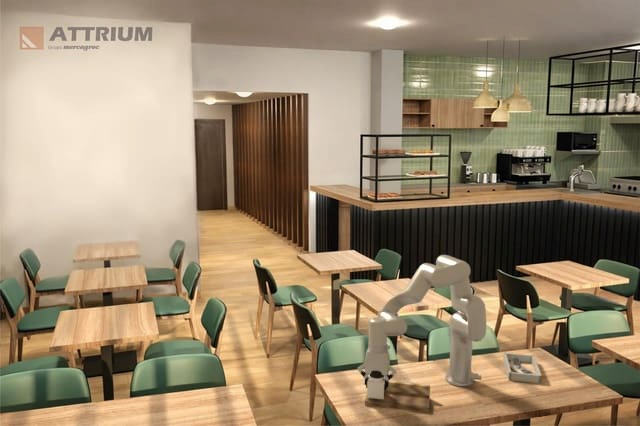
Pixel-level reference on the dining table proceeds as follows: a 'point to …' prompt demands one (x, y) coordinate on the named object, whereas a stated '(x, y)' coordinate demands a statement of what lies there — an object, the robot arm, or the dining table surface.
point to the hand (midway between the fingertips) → (376, 387)
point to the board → (404, 397)
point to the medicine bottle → (376, 385)
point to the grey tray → (522, 376)
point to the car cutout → (519, 367)
